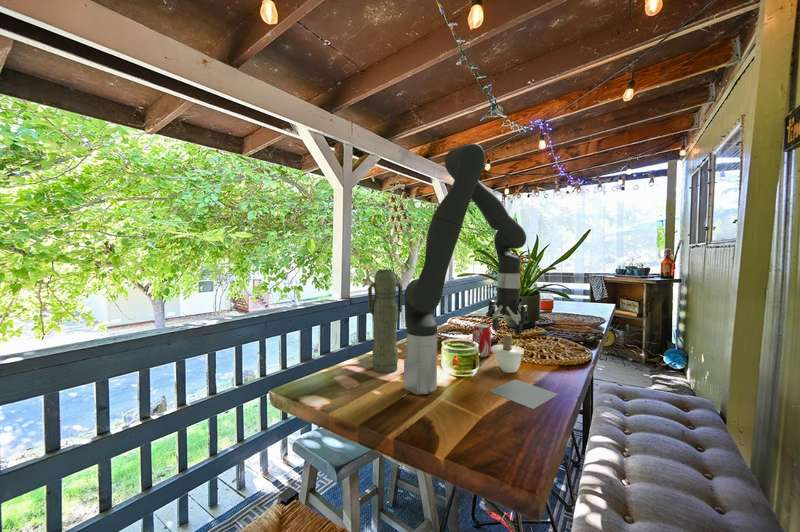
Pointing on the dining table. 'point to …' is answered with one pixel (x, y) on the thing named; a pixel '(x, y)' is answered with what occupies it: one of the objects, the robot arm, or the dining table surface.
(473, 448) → the dining table surface
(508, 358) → the cup
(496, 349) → the lid
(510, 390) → the mat
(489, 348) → the soda can
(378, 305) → the thermos
